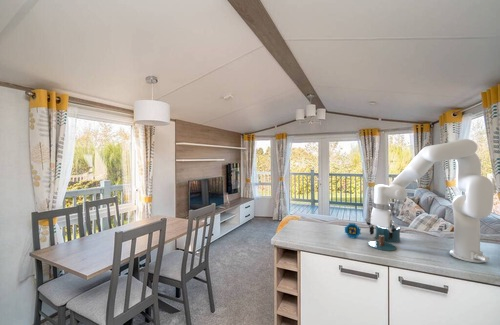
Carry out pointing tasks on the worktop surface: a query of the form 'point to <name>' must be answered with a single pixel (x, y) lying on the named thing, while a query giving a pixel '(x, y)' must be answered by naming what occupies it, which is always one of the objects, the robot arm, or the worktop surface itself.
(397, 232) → the tin
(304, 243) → the worktop surface
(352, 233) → the toy flower
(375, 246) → the tin lid
